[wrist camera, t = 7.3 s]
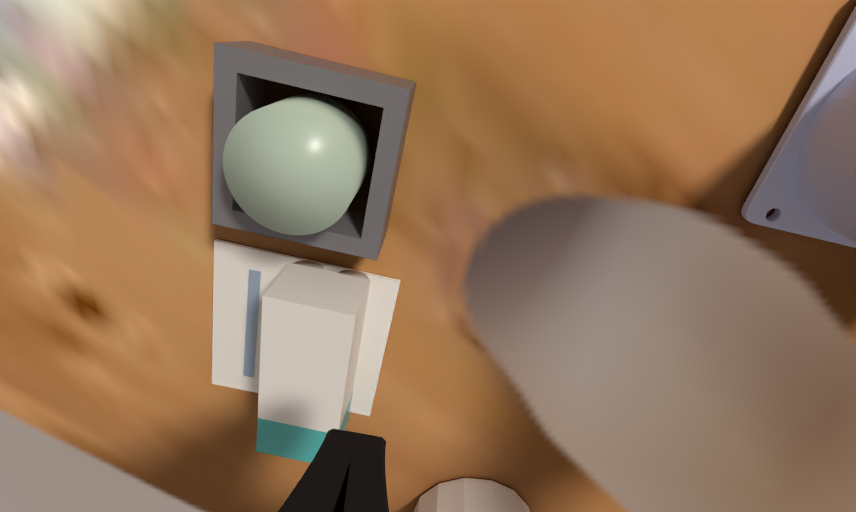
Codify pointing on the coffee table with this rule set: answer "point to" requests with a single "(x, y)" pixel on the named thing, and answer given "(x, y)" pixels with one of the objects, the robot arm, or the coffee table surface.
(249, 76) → the button housing
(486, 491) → the white cup
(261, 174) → the button
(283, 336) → the eraser
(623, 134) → the coffee table surface
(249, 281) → the paper
